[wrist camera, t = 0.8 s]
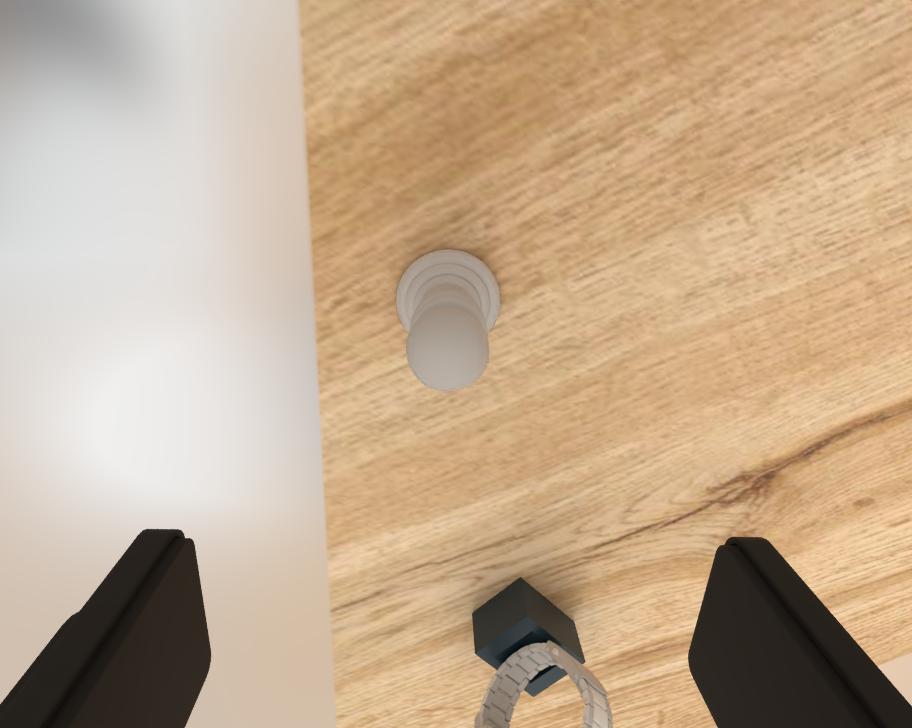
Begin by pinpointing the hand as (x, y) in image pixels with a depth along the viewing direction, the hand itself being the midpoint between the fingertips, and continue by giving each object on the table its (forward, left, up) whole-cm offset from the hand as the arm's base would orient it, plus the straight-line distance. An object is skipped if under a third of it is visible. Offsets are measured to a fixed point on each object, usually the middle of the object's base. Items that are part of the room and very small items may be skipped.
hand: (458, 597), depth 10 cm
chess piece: (0, 0, -20) cm, 20 cm away
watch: (+22, +6, -20) cm, 30 cm away
